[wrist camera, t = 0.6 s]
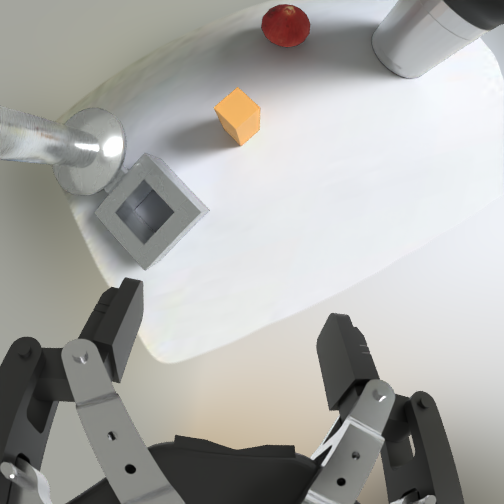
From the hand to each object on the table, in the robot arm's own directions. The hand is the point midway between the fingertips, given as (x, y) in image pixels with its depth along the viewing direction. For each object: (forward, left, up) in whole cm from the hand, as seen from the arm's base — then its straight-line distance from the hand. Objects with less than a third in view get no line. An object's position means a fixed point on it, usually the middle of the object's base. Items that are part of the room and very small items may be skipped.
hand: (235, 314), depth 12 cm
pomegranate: (-21, -16, -24) cm, 36 cm away
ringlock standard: (+6, -15, -24) cm, 29 cm away
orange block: (-8, -10, -24) cm, 27 cm away
